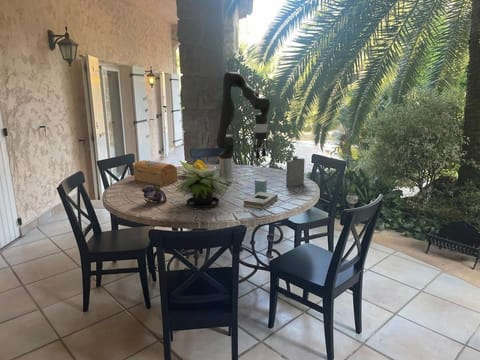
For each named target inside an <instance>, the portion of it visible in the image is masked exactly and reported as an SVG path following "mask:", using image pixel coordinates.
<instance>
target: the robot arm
mask: <svg viewBox="0 0 480 360" xmlns="http://www.w3.org/2000/svg"><path fill="white" fill-rule="evenodd" d="M222 80H223V81H222V102H221V108H220V109H221V110H220V119H219V127H218V131H217V134H216V135H217V136H216V146H217V148H219V149H220V150H222V149H223V150H222V151H221V152H220V153H219V157H218V158H219V160H218V161H219V168H218V169H220V168H224V169H220V170H218V176H219V177H221V178H222V179H223V178H224V179H223V180H224V182H225V181H226V183H225V184H230V183H233V182H234V174H233V173H234V170H233V169H234V167H233V165H234V164H233V162H234V160H233V156H234V148H235V147H234V145H235V144H234V143H235V142H234V141H235V140H234V138H233V137H234V136H232V135H231V134H227V132H228V130H229V127H230V125H231V124H232V122H233V121H234V118H235V113H236V106H235V103H234V99H233V98H232V88H239V89H240V90H241V93H242V95H243V97H244V98H245V99H246V100H248V101H249V103H250V106H251V107H252V108H253V109H254V110H257V111H258V110H259V113H257V114H255V117H254V119H255V120H254V121H255V122H254V123H255V125H254V139H255V140H256V141H254V143H253V152H254V153H255V158H256V159H257V160H259V159H261V157H266V155H267V154H266V153H267V152H266V151H267V150H268V146H269V145H268V143H269V142H268V114H269V110H270V105H271V104H270V100H269V98H268V97H263V96H262V97H260V94H259V92H258V91H256V90H255V89H253V87H251V86H250V84H249V83H248V82H247V81H246V80H245V78H244V77H243V76H242V75H241V74H240V73H239V72H236V71H235V72H234V71H226V72H225V73H224V76H223V78H222ZM225 179H226V180H225ZM222 182H223V181H222ZM222 182H221V181H220V182H219V183H222Z"/></svg>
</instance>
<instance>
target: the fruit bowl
mask: <svg viewBox="0 0 480 360" xmlns="http://www.w3.org/2000/svg"><path fill="white" fill-rule="evenodd" d="M179 162H180V165H182V168H181V172H183V173H184V175H185V176H186V175H187V174H188V171H189V170H191V168H185V167H188V166H191V167H193V165H195V169H198V170H200V173H201V174H204V173H203V172H206V171H209V172H212V171H213V170H214V171H215V170H216V169H217V167H216V166H215V165H212V164H206V163H205V162H204V161H203V160H202V159H197V160H196V161H195V162H194V163H193V164H189V163H187V162H185V161H182V160H179ZM183 164H184V165H187V166H184V165H183ZM185 169H189V170H185ZM209 172H208V173H209ZM215 172H216V171H215Z"/></svg>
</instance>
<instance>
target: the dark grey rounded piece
mask: <svg viewBox="0 0 480 360" xmlns="http://www.w3.org/2000/svg"><path fill="white" fill-rule="evenodd" d="M142 188H143V189H141V192H143V197H144V198H145V199H144V201H145V202H146V203H151V201H152V202H156V205H160V204H161V202H162V200H163V202H164V204H166V203H167V201H168V200H167V196H166V194H165V192H164V191H163V190H162V189H161V186H159V185H156V184H151V183H148V184H145V185H143V186H142Z"/></svg>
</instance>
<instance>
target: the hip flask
mask: <svg viewBox="0 0 480 360" xmlns="http://www.w3.org/2000/svg"><path fill="white" fill-rule="evenodd" d="M305 163H306V161H305V158H299V156H298V155H292V159H289V160H287V161H286V173H285V174H286V176H285V177H286V179H285V181H286V184H285V185H286V186H285V187H286V188H288V189H289V188H292V187H296V185H297V186H299V185H300V184H301V185H304V183H305Z"/></svg>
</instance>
